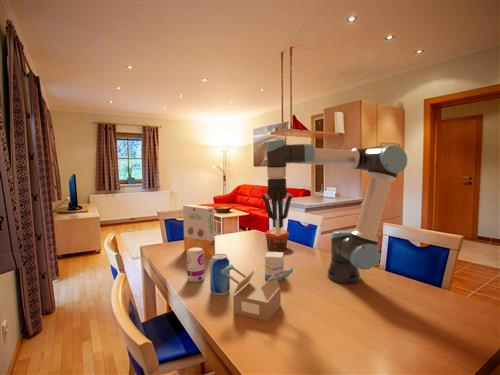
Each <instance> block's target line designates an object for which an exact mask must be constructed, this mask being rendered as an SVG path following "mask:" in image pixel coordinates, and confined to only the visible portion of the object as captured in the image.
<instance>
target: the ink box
mask: <svg viewBox="0 0 500 375" xmlns="http://www.w3.org/2000/svg"><path fill="white" fill-rule="evenodd" d="M284 254H285V253H284V252H282V251H281V252H279V251H267V252H266V254H265V256H264V280H265V281H268V280H269V279H270V278H271V277H272V276H273V275H274V274H276V273H279V272H282V271H285V270H284V267H285V266H284ZM281 275H284V273H282V274H279V275H276V277H278V276H281ZM283 278H284V277H282V278H279V279H277V281H278V282H282V281H283Z"/></svg>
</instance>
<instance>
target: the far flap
mask: <svg viewBox="0 0 500 375" xmlns="http://www.w3.org/2000/svg"><path fill="white" fill-rule="evenodd" d="M231 270H233V271H235V273H237V274H239V275H240V276H241V277H243V279H241V280H240V281H238V280H237V279H236V278H234V277H233V276H231V275H229V274H227V272H229V271H231ZM254 272H255V271H254V270H252V271H251V272H250V273H249V274H247V275H245V274H244V273H242V272H241V271H240V270H238V269H237V268H235V267H234V265H233V264H229V266H228V267H226V268H224V269H223V270H222V271H221V273H222V274H223V275H224V274H225V275H226V276H227V277H229V278H230V280H232V281H233V282H234V283H236V285H237V286H236V288H235V290H234V292H233V295H234V294H235V293H236V292H238V291H239V290H240V289H241V288H242V287H243V286H244V285H246V284H247V283H248V282H250V281H251V279H252V277H253V275H254Z"/></svg>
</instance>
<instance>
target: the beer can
mask: <svg viewBox="0 0 500 375" xmlns="http://www.w3.org/2000/svg"><path fill="white" fill-rule="evenodd" d="M229 265H230V260H229V258H228V254H225V253H217V254H216V253H215V255H213V256H212V257H211V259H210V261H209V277H210V278H209V281H210V283H209V284H210V285H209V286H210V287H209V288H210V291H211V293H212V295H215V296H224V295H226V294H228V293H229V291H230V289H231V282H230V280H231V279H230V278H229V277H227V276H226V275H225V274H224V275H223V274H222V273H221V271H222V270H223V269H224V268H226V267H228V266H229ZM230 271H231V270H230ZM230 271H229V272H227V274H229V275H230ZM230 276H231V275H230Z"/></svg>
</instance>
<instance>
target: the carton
mask: <svg viewBox="0 0 500 375" xmlns="http://www.w3.org/2000/svg"><path fill="white" fill-rule="evenodd" d="M263 285H264V284H260V283H255V282H250V281H249V282H248V283H247V284H246V285H244V286H243V287H242V288H241V289H240V290H239V291H238V292H236V293H235V294H234V293H233V295H232V296H233V298H232V301H233V302H232V303H233V304H232V305H233V306H232V307H233V309H232V310H233V311H232V312H233V314H235V315H239V316H242V317H246V318H247V317H248V318H251V319H255V320H260V321H263V322H266V323H267V322H268V323H269V322H270V321H271V319H272V318H273V316H274V315H275V314H276V312H277V311H278V310H279V308H280V306H281V305H282V303H281V297H282V296H281V295H282V294H281V288H280V287H279V288H278V289H277V290H276V291H275V292H274V294H273V295H272V296H271V297H270V298H269V299H268V301H267V300H266V298H265V296H264V293H263V291H262V289H261V287H262V286H263Z"/></svg>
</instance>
